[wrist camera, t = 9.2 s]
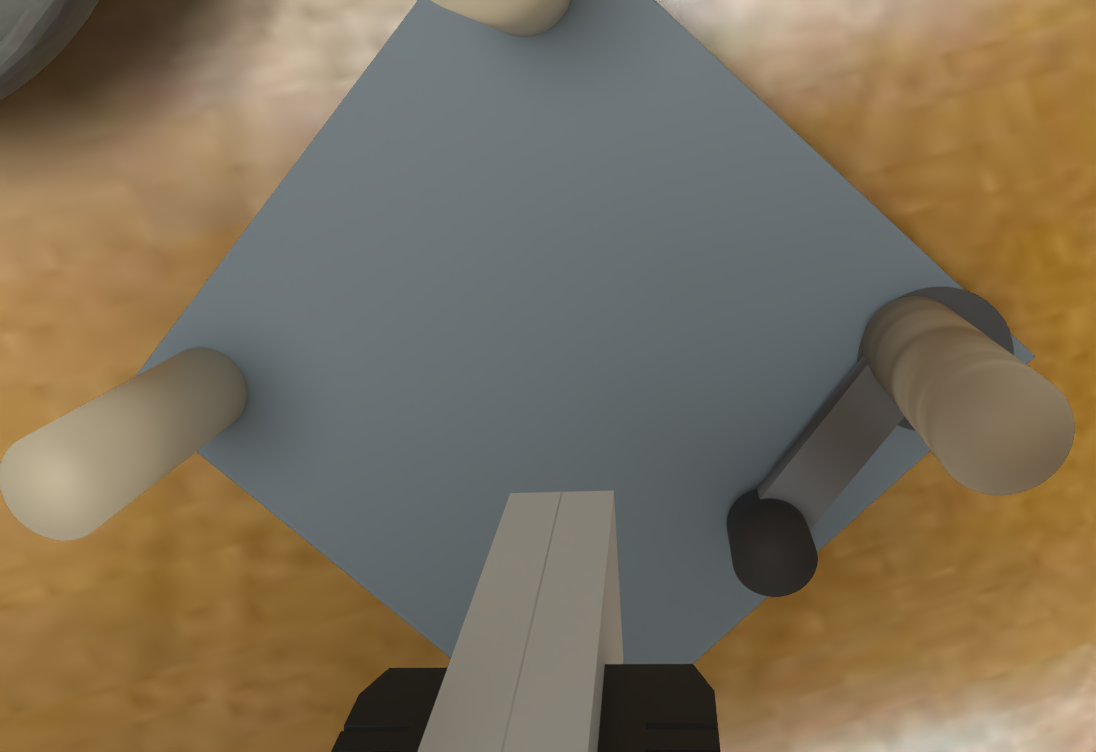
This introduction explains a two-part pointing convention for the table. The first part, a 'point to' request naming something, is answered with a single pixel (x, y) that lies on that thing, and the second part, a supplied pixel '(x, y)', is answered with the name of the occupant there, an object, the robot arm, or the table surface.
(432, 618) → the stool seat
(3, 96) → the bowl
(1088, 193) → the table surface
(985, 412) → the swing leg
